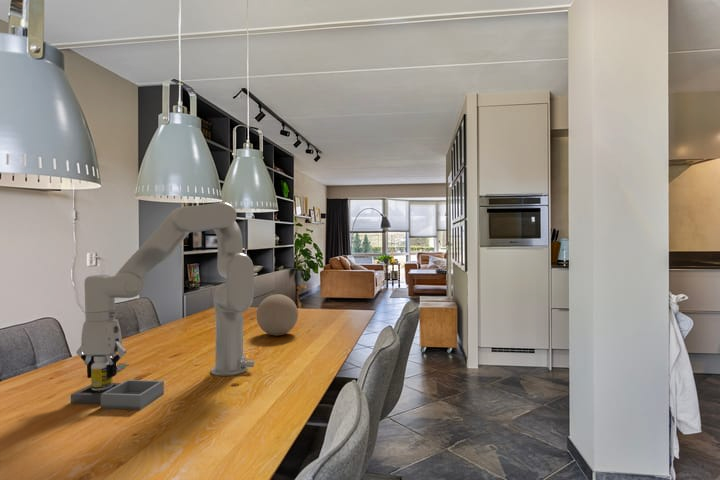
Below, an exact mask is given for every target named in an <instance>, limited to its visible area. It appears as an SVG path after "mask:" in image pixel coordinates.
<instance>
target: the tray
mask: <svg viewBox="0 0 720 480" xmlns="http://www.w3.org/2000/svg"><path fill="white" fill-rule="evenodd" d="M120 383H121V384H119V385H117V386H115V387H113V388H111V389H109V390H108V391H106V392H101V393H102V394H101V404H100V409H104V410H105V409H107V410H108V409H109V410H132V411H133V410H135V411H141V410H142V409H143V410H144V408H145V407H147V406H148V405H150V404H151V403H153V402H154V401H156V400H158V399H159V398H160V397H162V396H163V395H164V394H165V390H164V389H165V388H164V387H165V386H164V384H165V381H164V380H147V379H145V380H144V379H141V380H140V379H127V380H125V381H123V382H120Z"/></svg>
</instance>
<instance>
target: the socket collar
mask: <svg viewBox="0 0 720 480" xmlns="http://www.w3.org/2000/svg"><path fill="white" fill-rule="evenodd" d="M121 383H122V382H113V385H112V387H110V388H108V389H105V390H100V391H95V390H92V388H91V384H89V385H87V386H85V387H83V388H80V389H78V390H77V391H75V392H73V393H71V394H70V404H81V405H82V404H86V405H101V394H102V393H104V392H106V391H108V390H109V389H111V388H113V387H115V386H117V385H119V384H121Z"/></svg>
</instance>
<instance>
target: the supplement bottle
mask: <svg viewBox="0 0 720 480" xmlns="http://www.w3.org/2000/svg"><path fill="white" fill-rule="evenodd" d="M94 362H95V363H93V364H92V365H91V378H90V383H91V384H90V385H91V388H92V390H95V391H100V390H105V389H108V388H110V387H112V385H113V383H114V381H113V377H114V376H113V377H111V378H107V365H109V363H108V360H107V357H106V355H95V356H94Z"/></svg>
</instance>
